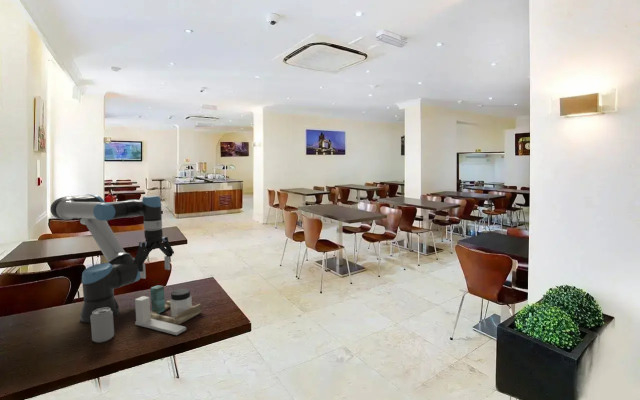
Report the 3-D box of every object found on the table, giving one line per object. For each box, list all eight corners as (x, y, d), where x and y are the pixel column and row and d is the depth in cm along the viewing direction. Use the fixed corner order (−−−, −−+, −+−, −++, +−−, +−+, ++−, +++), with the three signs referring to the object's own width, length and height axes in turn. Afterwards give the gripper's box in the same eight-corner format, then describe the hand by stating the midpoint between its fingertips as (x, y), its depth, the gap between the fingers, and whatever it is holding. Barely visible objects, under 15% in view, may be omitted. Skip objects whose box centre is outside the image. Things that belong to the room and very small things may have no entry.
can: (97, 345, 127) (95, 315, 126) (88, 340, 131) (86, 311, 130) (118, 337, 134) (116, 308, 132) (108, 332, 138) (106, 304, 136)
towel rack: (142, 317, 151) (140, 291, 150) (167, 304, 164) (166, 281, 163) (177, 325, 142) (176, 298, 141) (201, 312, 156) (200, 287, 154)
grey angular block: (135, 324, 143) (133, 299, 142) (145, 319, 148) (144, 295, 147) (176, 335, 134) (175, 308, 133) (186, 329, 139) (184, 304, 138)
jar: (171, 322, 146) (170, 296, 145) (171, 315, 153) (169, 290, 152) (192, 318, 150) (191, 293, 149) (191, 311, 157) (190, 287, 156)
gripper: (134, 234, 140) (137, 283, 142) (180, 225, 163) (182, 267, 165) (122, 233, 143) (125, 280, 145) (169, 224, 166) (171, 265, 168)
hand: (155, 273), depth 155 cm, fingers open, 13 cm apart
